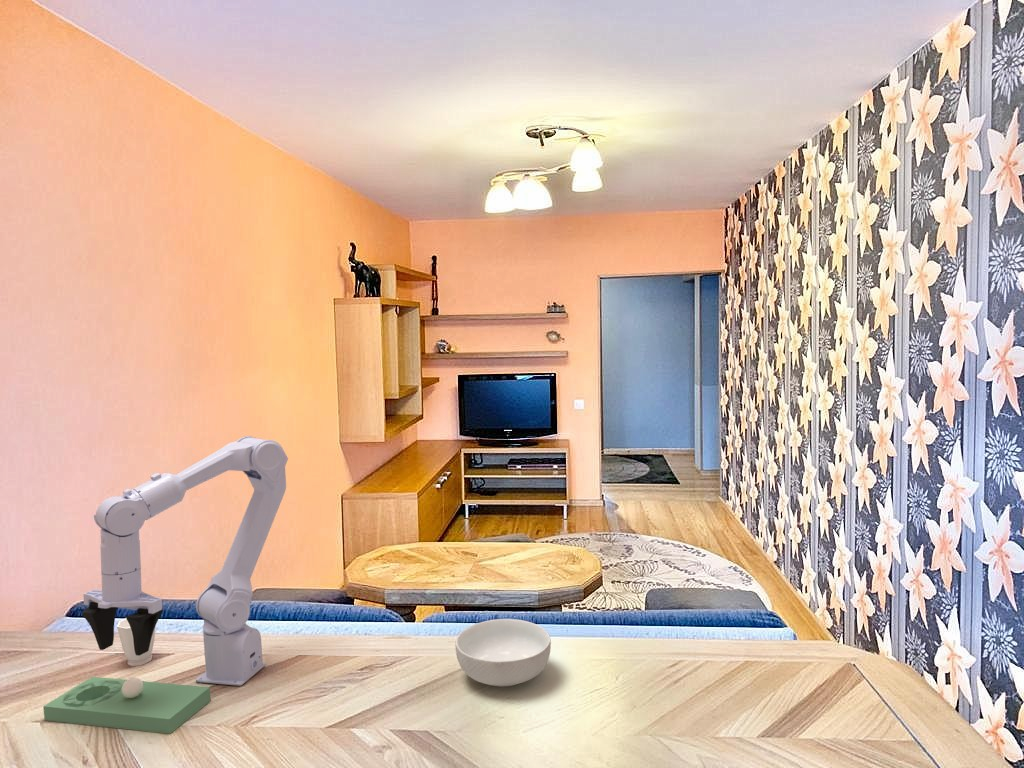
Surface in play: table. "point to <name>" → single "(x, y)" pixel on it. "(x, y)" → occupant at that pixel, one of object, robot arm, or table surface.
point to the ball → (132, 687)
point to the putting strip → (128, 705)
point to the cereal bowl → (503, 651)
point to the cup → (128, 645)
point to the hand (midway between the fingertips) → (124, 650)
